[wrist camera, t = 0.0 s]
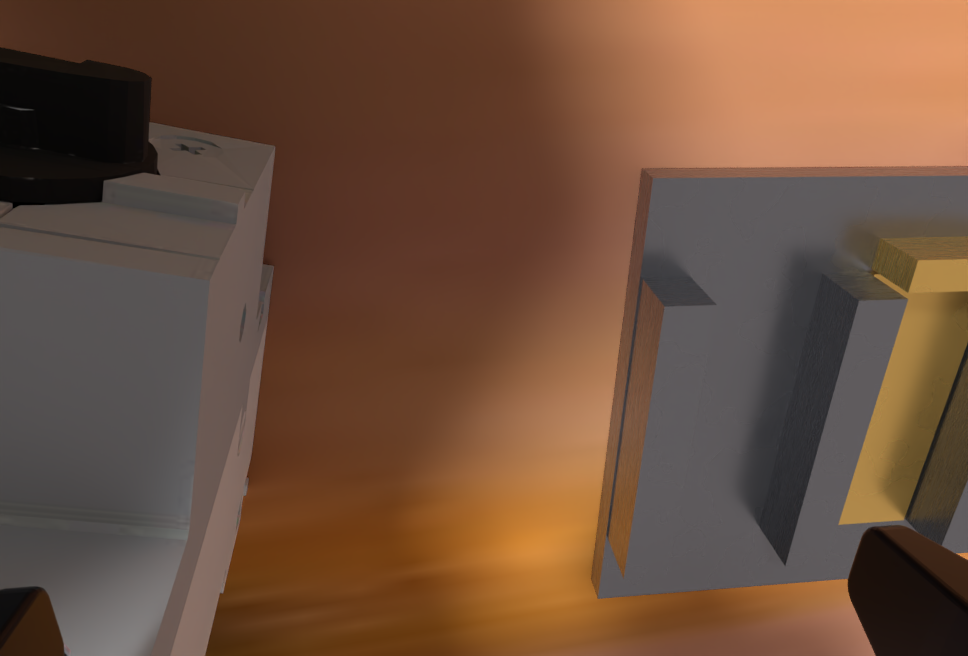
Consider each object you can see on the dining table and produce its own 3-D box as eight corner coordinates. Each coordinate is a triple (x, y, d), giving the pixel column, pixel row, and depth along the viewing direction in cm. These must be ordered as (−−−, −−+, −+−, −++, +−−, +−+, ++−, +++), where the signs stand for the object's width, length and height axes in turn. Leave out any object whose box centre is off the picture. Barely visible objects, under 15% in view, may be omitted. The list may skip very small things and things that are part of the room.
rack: (902, 554, 31) (951, 612, 28) (591, 578, 29) (612, 642, 26) (1045, 165, 23) (1131, 194, 21) (642, 168, 22) (678, 200, 19)
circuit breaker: (300, 44, 19) (132, 273, 6) (247, 488, 25) (105, 1096, 12) (-27, -28, 18) (-1257, 63, 4) (-1, 464, 24) (-484, 1135, 10)
